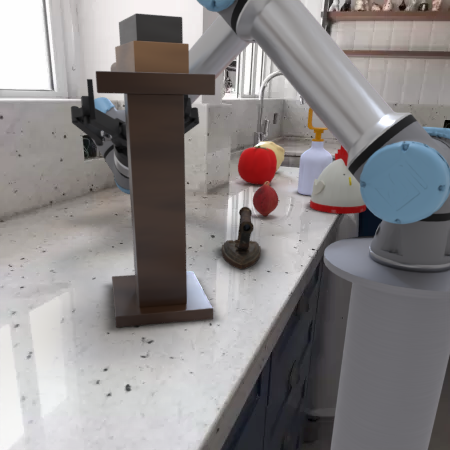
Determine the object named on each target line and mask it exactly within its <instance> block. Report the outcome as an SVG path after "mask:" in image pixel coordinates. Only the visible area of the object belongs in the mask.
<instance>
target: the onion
mask: <svg viewBox="0 0 450 450" xmlns="http://www.w3.org/2000/svg"><path fill="white" fill-rule="evenodd" d="M270 184H271V182H269V181H267V182H265V183H264V184H263V185H261V186H260V187H258V189H256V191H255V192H254V194H253V196H252V205H253V207H254V209H255V210H256V212H257V213H259V214H261V216H262V217H268V216H269V215H270V214H271V213H273V212H274V211H275V210H276V209H277V207H278V205H279V202H280V201H279V196H278V195H279V194H278V192H277V191H276V190H275V189H274V188H273V187H272V186H271V185H270Z"/></svg>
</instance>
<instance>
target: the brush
mask: <svg viewBox="0 0 450 450" xmlns="http://www.w3.org/2000/svg"><path fill="white" fill-rule="evenodd" d="M183 32H184V31H183V17H182V16H176V15H175V16H174V15H162V14H149V13H134V14H132V15H130V16H128V17H127V18H124V19H122V20H120V21H118V33H119V35H118V36H119V45H117V46H115V47H114V50H115V52H114V53H115V62H113V63H112V64H111V66H110V71H118V72H154V73H189V50H190V44H189V43H184V40H183V39H184V37H183V35H184V33H183Z"/></svg>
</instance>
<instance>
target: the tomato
mask: <svg viewBox="0 0 450 450" xmlns="http://www.w3.org/2000/svg"><path fill="white" fill-rule="evenodd" d="M254 146H255V147H254ZM254 146H251V147H250V146H248V147H246V148H245V149H243V151H242V152H241V154H240V156H239V159H238V164H237V172H238V175H239V177H240V179H242V181H245V182H246V183H248V184H252V185H253V184H254V185H261V186H262V185H263V184H264V183H265V182H267V181H269V182H270V183H271V182H272V181H273V179H274V178H275V176H276V172H277V171H276V168H277V159H276V155H275V152H274V151H273V150H272V149H269V148H266V147H260V145H258V147H256V145H254Z"/></svg>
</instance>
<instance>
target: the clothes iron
mask: <svg viewBox="0 0 450 450" xmlns="http://www.w3.org/2000/svg"><path fill="white" fill-rule="evenodd" d="M238 214H239V222H238V223H239V224H238V231H237V232H238V233H237V239H229V240H228V239H227V240H226V241H224V242H223V244H222V245H221V256H222V258H223V259H224V261H225V262H226V263H228V264H229V265H230V266H232V267H234V268H235V269H238V270H246V269H248V268H250V267H252V266H253V265H255V264H256V263H257V262H258V261H259V259H260V258H261V254H262V253H261V252H262V247H261V245H260V244H259V243H258V241H256V240H251V237H252V233H253V231H254V230H255V229H254V228H255V226H254V224H253V223H252V215H253V211H252V209H251V208H250V207H249V206H243V207H241V208H240V209H239V211H238Z"/></svg>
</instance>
